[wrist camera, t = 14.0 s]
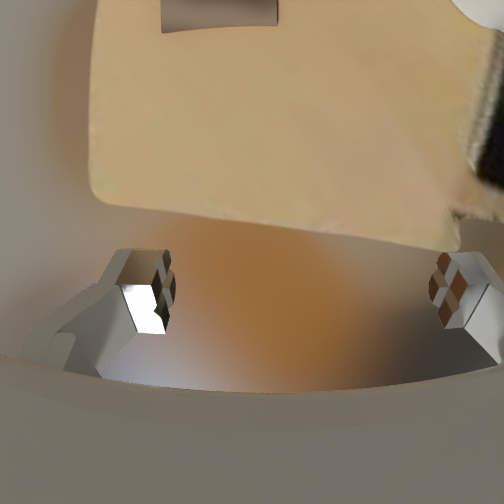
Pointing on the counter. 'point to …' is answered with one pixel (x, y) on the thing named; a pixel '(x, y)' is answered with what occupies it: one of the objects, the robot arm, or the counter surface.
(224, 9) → the jig
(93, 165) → the counter surface
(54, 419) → the robot arm
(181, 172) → the counter surface
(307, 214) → the counter surface
